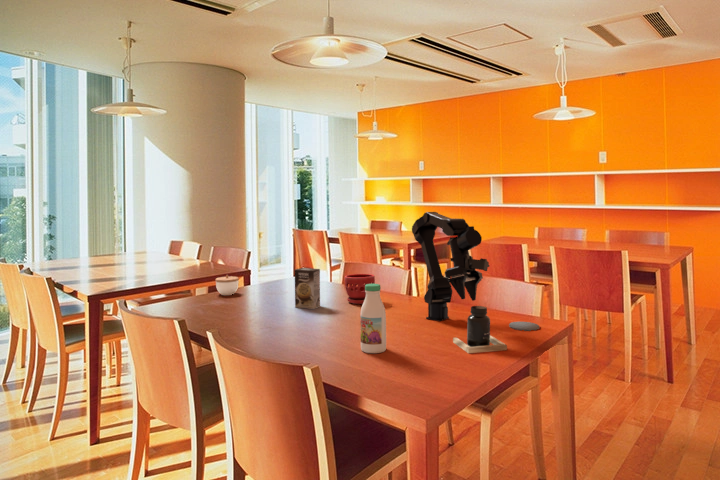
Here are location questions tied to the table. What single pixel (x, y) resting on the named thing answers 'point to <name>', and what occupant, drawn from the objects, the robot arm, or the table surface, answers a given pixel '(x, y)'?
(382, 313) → the milk bottle
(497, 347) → the pocket
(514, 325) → the coaster
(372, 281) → the plant pot
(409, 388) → the table surface
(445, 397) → the table surface
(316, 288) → the coffee box
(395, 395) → the table surface
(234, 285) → the lidded jar
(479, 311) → the supplement bottle
